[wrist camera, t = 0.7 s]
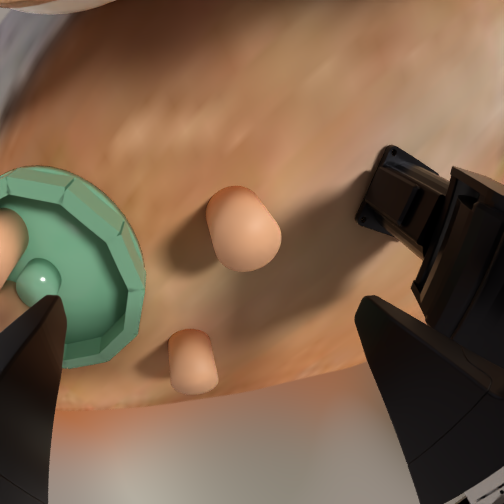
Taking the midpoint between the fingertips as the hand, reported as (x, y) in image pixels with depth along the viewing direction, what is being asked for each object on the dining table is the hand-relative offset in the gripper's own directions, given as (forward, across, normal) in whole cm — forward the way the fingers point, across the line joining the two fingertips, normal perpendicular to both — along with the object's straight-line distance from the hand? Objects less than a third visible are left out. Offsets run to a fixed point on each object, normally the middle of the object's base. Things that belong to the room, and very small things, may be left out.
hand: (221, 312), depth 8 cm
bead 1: (+10, +13, +3) cm, 17 cm away
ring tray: (+11, +11, +6) cm, 16 cm away
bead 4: (+11, -2, +2) cm, 12 cm away
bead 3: (+11, 0, +14) cm, 18 cm away
